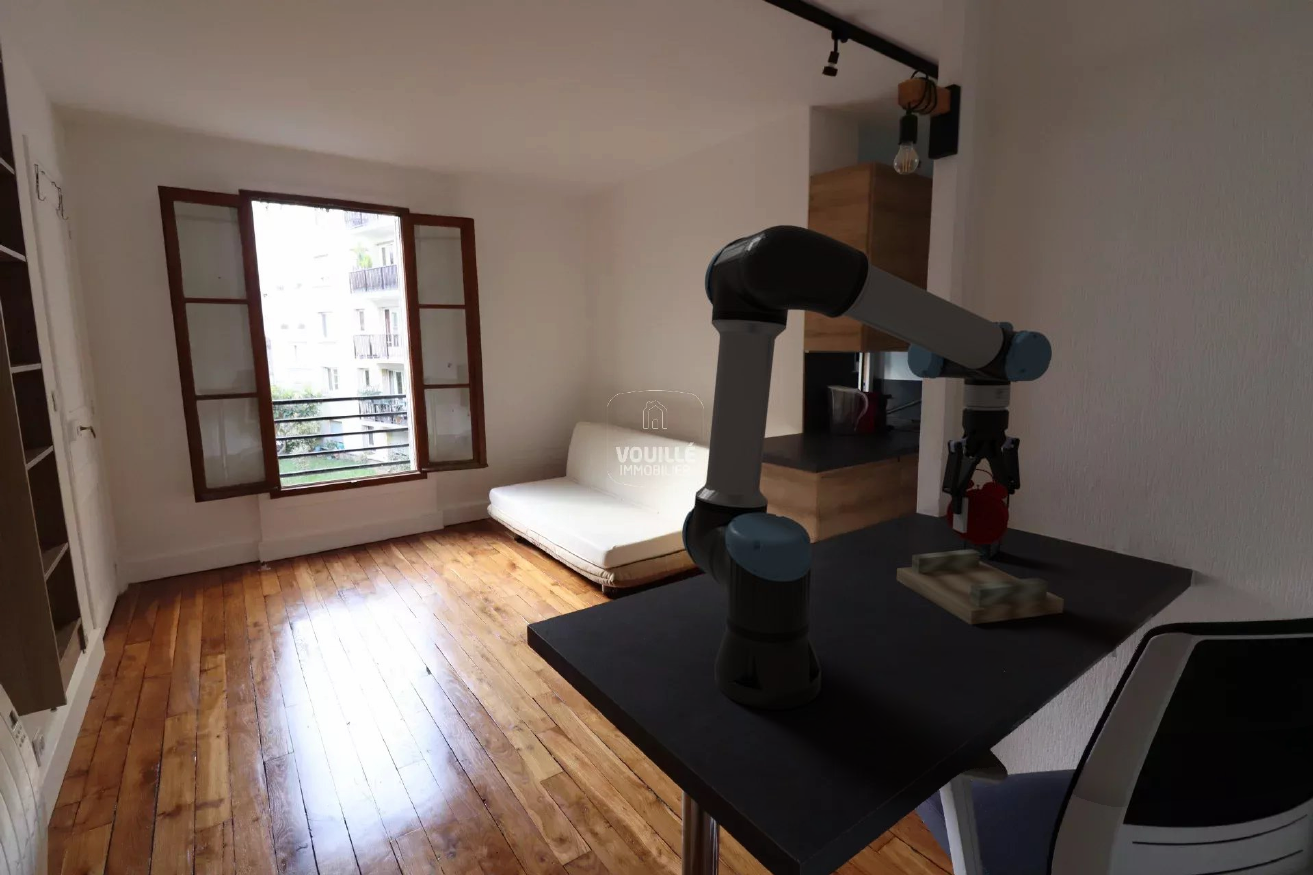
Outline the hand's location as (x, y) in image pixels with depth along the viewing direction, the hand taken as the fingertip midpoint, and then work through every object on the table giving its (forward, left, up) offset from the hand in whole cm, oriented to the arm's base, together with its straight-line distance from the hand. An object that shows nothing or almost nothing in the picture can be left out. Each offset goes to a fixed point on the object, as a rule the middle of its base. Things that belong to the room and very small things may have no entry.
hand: (978, 528), depth 115 cm
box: (+19, +20, -13) cm, 31 cm away
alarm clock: (0, 0, -3) cm, 3 cm away
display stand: (0, 0, -13) cm, 13 cm away
